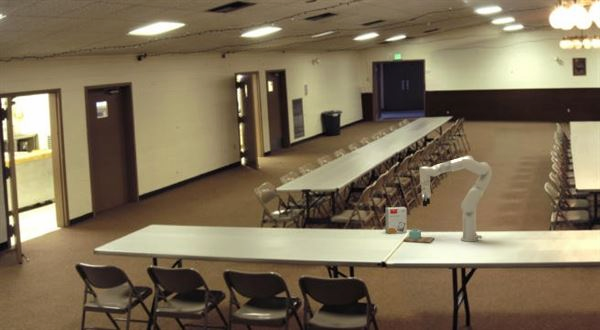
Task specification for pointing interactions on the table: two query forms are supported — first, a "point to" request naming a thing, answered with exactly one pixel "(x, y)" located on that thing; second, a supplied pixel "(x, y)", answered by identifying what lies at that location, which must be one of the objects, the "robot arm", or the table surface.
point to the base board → (421, 240)
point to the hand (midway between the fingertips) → (426, 205)
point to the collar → (415, 234)
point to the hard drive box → (396, 220)
